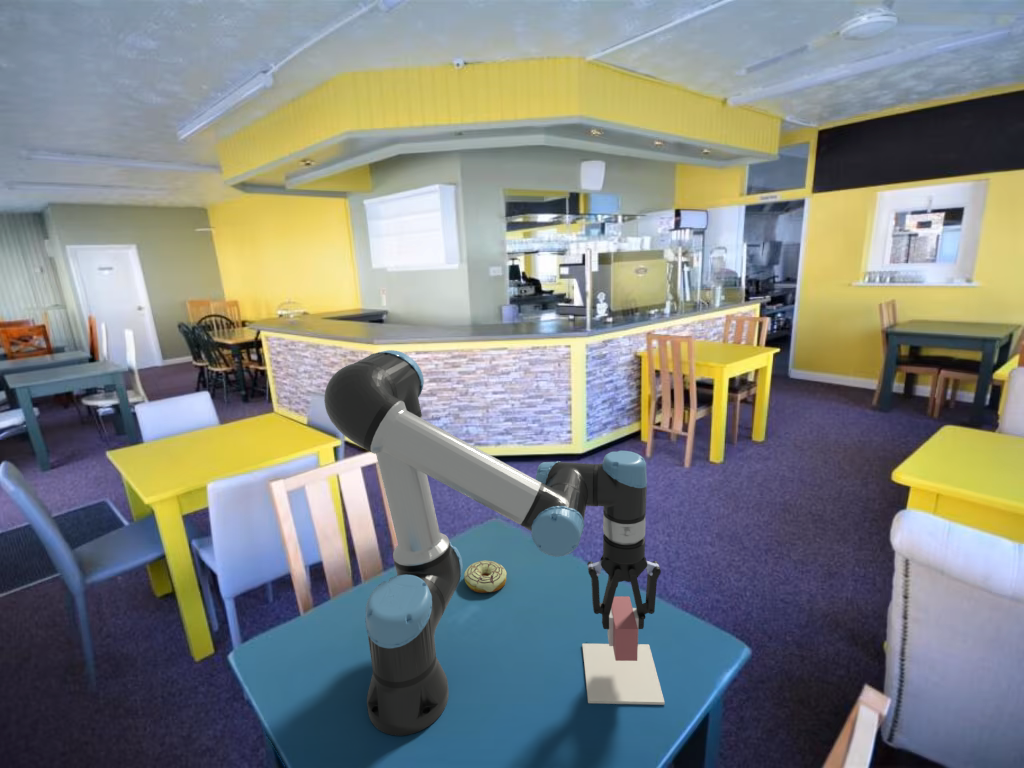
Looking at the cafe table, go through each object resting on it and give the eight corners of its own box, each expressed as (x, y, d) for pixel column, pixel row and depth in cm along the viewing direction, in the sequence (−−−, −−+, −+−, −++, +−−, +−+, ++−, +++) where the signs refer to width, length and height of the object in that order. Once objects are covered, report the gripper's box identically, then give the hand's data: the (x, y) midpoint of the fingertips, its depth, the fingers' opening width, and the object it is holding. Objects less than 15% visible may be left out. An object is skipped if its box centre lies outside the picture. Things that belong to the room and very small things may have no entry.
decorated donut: (495, 601, 122) (494, 587, 121) (457, 590, 127) (456, 577, 126) (513, 575, 132) (512, 563, 131) (476, 566, 136) (476, 554, 135)
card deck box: (609, 626, 103) (609, 596, 101) (629, 626, 102) (629, 596, 101) (615, 660, 94) (615, 629, 92) (637, 660, 94) (637, 629, 92)
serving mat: (588, 703, 94) (588, 700, 94) (582, 645, 107) (582, 643, 107) (664, 704, 93) (664, 702, 93) (648, 646, 106) (649, 644, 106)
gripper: (578, 546, 89) (579, 655, 95) (676, 546, 88) (671, 656, 94) (575, 524, 96) (577, 626, 102) (666, 523, 95) (662, 627, 101)
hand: (622, 640), depth 98 cm, fingers closed on card deck box, 4 cm apart
